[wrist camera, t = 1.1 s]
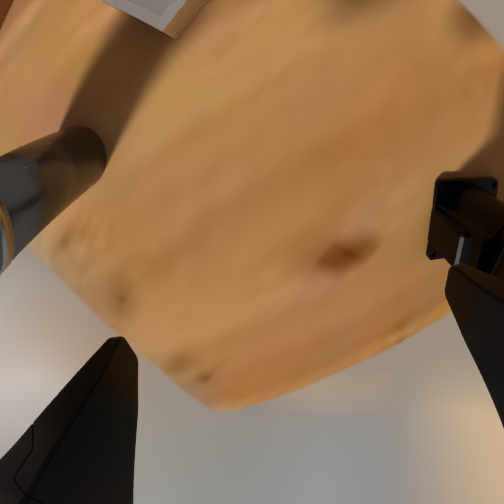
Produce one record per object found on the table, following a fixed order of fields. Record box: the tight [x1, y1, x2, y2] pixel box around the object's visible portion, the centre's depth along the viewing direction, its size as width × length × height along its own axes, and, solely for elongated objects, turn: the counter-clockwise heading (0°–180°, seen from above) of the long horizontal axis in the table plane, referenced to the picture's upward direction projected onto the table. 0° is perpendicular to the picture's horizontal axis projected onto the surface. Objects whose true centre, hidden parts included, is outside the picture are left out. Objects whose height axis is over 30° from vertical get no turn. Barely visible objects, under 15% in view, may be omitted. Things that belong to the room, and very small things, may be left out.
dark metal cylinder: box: [0, 126, 106, 275], centre depth 13 cm, size 4×4×11 cm
